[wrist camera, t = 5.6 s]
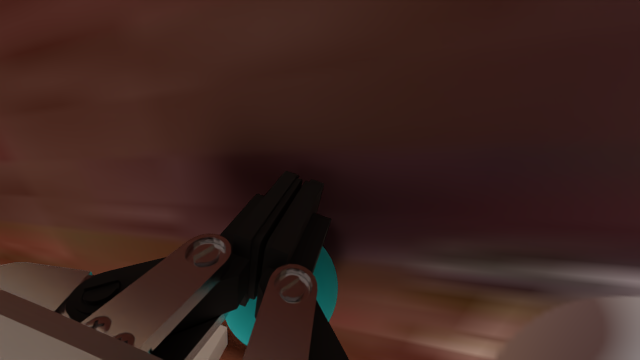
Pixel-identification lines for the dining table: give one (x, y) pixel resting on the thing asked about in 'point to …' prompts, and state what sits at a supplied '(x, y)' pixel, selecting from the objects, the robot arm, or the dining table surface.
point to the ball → (326, 297)
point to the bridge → (214, 345)
